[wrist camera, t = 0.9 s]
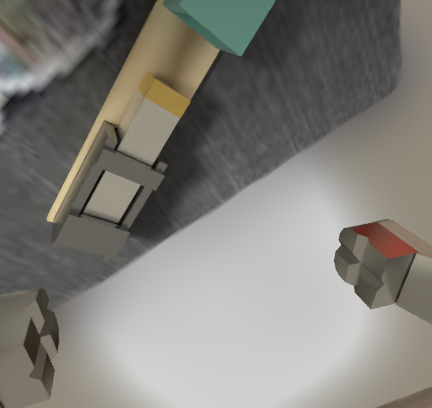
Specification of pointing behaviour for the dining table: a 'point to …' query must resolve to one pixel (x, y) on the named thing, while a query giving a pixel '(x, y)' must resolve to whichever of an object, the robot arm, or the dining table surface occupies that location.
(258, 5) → the teal cube
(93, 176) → the sleeve
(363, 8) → the dining table surface
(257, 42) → the dining table surface
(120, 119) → the board
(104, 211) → the slip tube
